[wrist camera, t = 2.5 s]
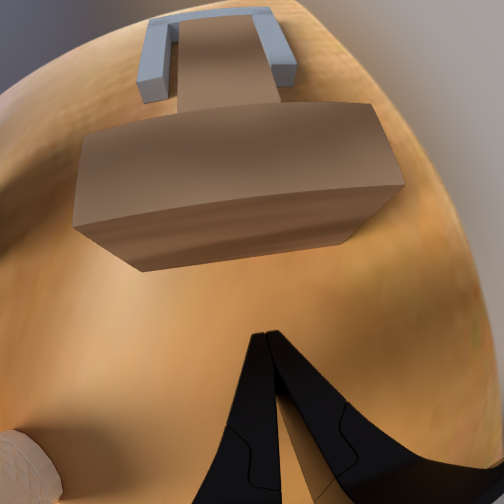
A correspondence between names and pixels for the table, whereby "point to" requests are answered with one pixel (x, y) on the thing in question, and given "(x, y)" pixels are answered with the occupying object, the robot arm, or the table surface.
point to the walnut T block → (231, 164)
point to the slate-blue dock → (167, 31)
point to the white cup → (26, 472)
